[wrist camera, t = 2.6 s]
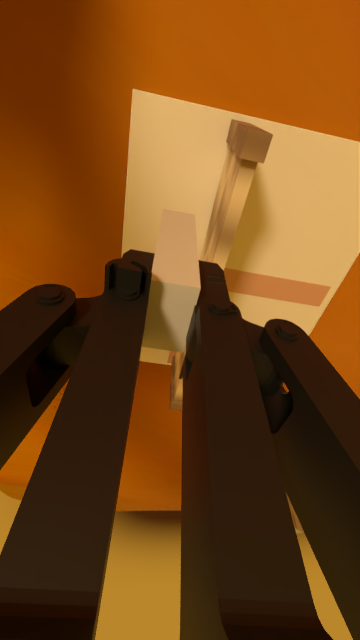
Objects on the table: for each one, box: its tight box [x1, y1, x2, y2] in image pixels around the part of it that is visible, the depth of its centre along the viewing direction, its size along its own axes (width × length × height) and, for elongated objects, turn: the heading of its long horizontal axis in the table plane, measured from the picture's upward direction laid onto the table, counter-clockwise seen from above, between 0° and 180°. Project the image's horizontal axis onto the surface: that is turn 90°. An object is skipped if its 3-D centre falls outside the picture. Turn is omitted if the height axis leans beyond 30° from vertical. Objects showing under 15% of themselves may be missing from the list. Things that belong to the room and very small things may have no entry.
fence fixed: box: [169, 345, 186, 411], centre depth 38 cm, size 18×2×9 cm, turn 169°
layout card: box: [121, 89, 360, 365], centre depth 38 cm, size 28×34×1 cm
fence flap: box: [200, 119, 273, 271], centre depth 28 cm, size 15×2×9 cm, turn 169°
